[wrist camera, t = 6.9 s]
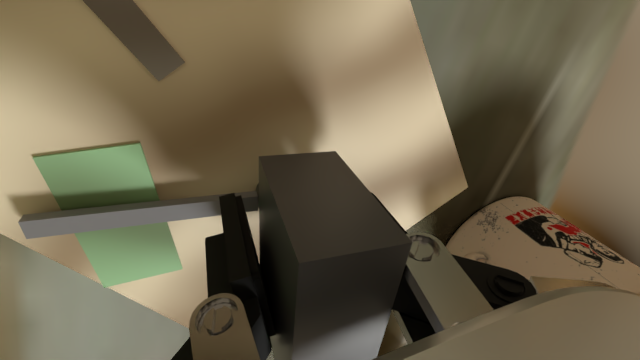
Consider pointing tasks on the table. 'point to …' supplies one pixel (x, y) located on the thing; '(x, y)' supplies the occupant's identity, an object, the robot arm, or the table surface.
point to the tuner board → (205, 120)
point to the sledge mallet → (293, 251)
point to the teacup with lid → (539, 245)
